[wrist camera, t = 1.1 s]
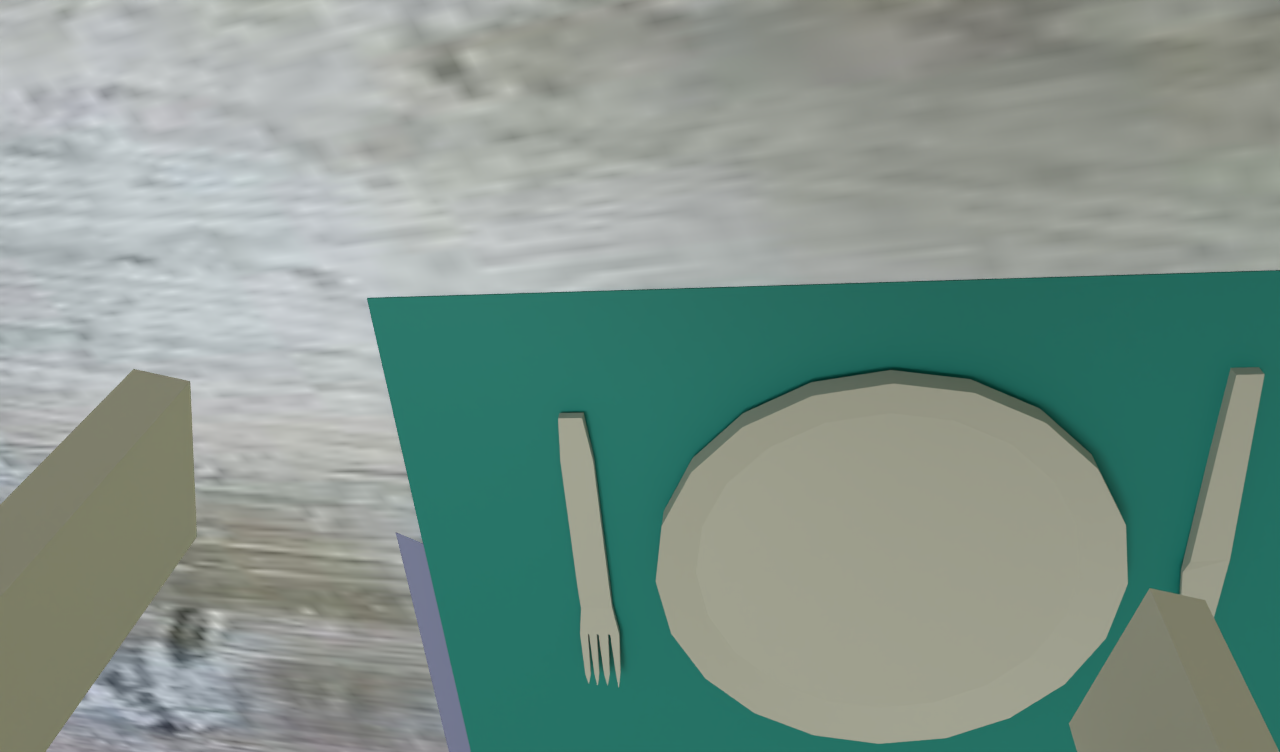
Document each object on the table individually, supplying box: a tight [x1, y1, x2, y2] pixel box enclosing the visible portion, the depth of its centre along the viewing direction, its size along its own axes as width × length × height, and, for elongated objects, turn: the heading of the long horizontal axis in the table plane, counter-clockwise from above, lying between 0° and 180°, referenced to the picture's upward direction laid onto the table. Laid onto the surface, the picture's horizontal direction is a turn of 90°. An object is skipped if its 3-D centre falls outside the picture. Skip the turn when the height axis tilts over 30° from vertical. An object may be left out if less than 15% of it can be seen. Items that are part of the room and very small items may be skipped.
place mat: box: [367, 270, 1280, 752], centre depth 49 cm, size 45×30×2 cm
